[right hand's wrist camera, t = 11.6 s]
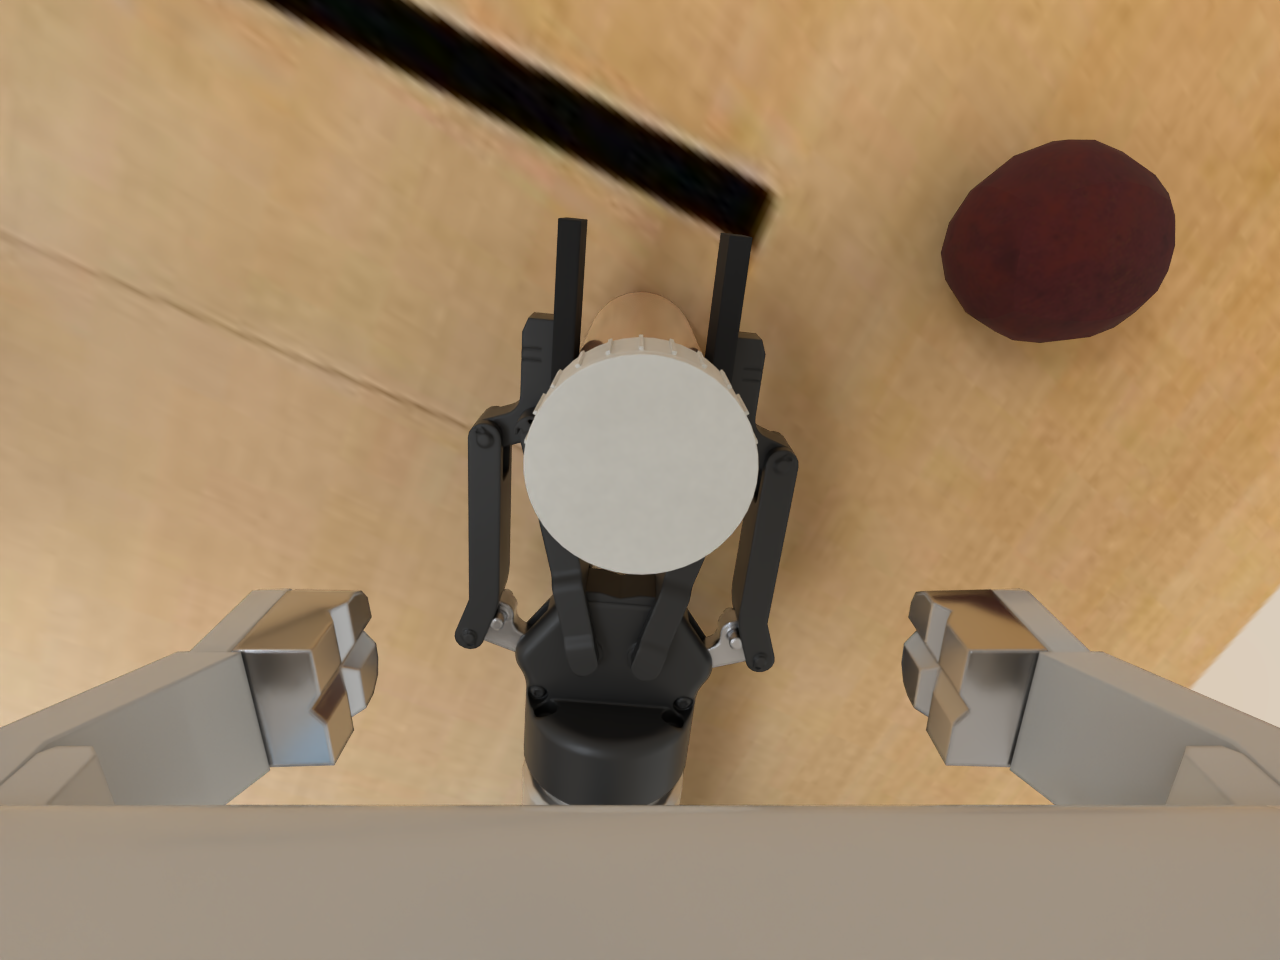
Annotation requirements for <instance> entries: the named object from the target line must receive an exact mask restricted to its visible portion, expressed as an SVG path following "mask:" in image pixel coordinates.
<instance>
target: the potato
mask: <svg viewBox="0 0 1280 960" xmlns="http://www.w3.org/2000/svg"><path fill="white" fill-rule="evenodd" d="M1174 247H1175V214H1174V210H1173V207H1172V204H1171V200H1170V197H1169V193H1168V192H1167V191H1166V189H1165V188H1164V186H1163V185H1162V184H1161V182H1160V181H1159V179H1158V178H1157V177H1156V175H1154V174H1153V173H1152V172H1150V171H1149V170H1147V169H1146V168H1145V167H1143V166H1142V165H1140V164H1139V163H1138V162H1136V161H1135V160H1133V159H1132V158H1131V157H1129V156H1128V155H1126V154H1125V153H1123V152H1122V151H1119V150H1117V149H1115V148H1112V147H1110V146H1108V145H1105V144H1103V143H1101V142H1098V141H1096V140H1061V141H1052V142H1050V143H1047V144H1044V145H1042V146H1039V147H1036V148H1034V149H1031V150H1029V151H1026V152H1023V153H1021V154H1018V155H1015V156H1013V157H1012V158H1011V159H1010V160H1008V161H1007V162H1006V163H1005V164H1003V165H1002V166H1001V167H1000V168H998V169H997V170H996V171H995V172H993V173H992V174H991V175H990V176H988V177H987V178H986V179H985V180H983V181H982V182H981V183H980V184H978V185H977V186H976V187H975V188H973V189H972V190H971V191H970V192H969V194H968V195H967V197H966V198H965V200H964V201H963V203H962V204H961V206H960V207H959V209H958V210H957V212H956V213H955V215H954V216H953V218H952V219H951V221H950V222H949V225H948V229H947V233H946V236H945V240H944V244H943V247H942V251H941V256H942V262H943V269H944V275H945V280H946V282H947V283H948V285H949V287H950V288H951V290H952V291H953V293H954V294H955V296H956V298H957V299H958V301H959V302H960V304H961V305H962V307H963V309H964V310H965V312H967V313H968V314H969V315H971V316H972V317H974V318H975V319H977V320H978V321H980V322H981V323H983V324H984V325H986V326H987V327H989V328H991V329H992V330H994V331H995V332H997V333H1000V334H1002V335H1004V336H1006V337H1008V338H1010V339H1012V340H1017V341H1027V342H1037V343H1043V342H1051V341H1060V340H1068V339H1076V338H1085V337H1091V336H1093V335H1096V334H1098V333H1101V332H1103V331H1106V330H1108V329H1111V328H1114V327H1115V326H1117V325H1118V324H1119V323H1121V322H1122V321H1124V320H1125V319H1126V318H1128V317H1129V316H1131V315H1132V314H1133V313H1135V312H1136V311H1137V310H1138V309H1139V308H1140V307H1141V306H1142V305H1143V304H1144V303H1145V302H1146V301H1147V300H1148V299H1149V298H1150V297H1151V296H1152V295H1154V294H1155V293H1156V292H1157V291H1158V289H1159V287H1160V285H1161V283H1162V281H1163V279H1164V277H1165V276H1166V274H1167V272H1168V269H1169V266H1170V262H1171V258H1172V254H1173V251H1174Z"/></svg>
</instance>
